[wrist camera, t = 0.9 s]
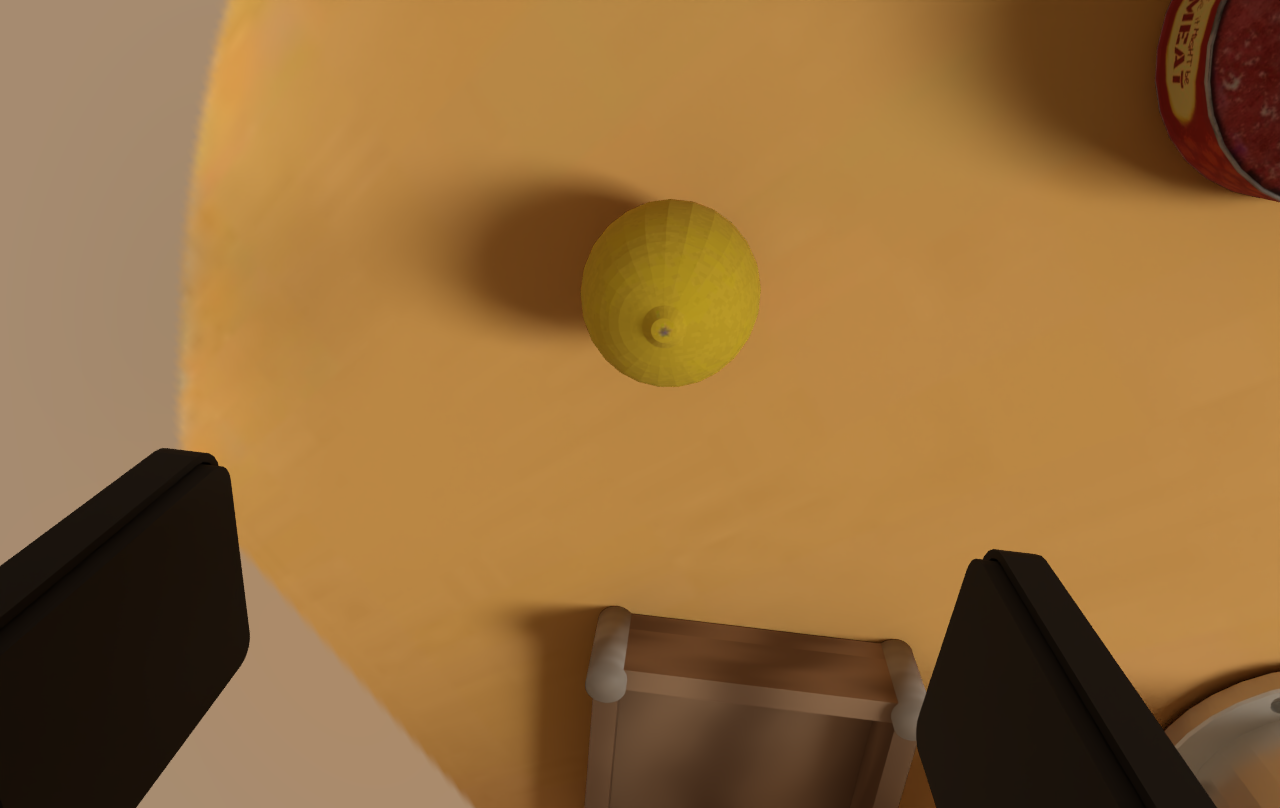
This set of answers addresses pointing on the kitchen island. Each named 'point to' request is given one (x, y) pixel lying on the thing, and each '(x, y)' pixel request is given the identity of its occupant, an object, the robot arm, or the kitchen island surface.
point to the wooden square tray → (746, 717)
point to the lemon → (670, 293)
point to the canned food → (1223, 90)
